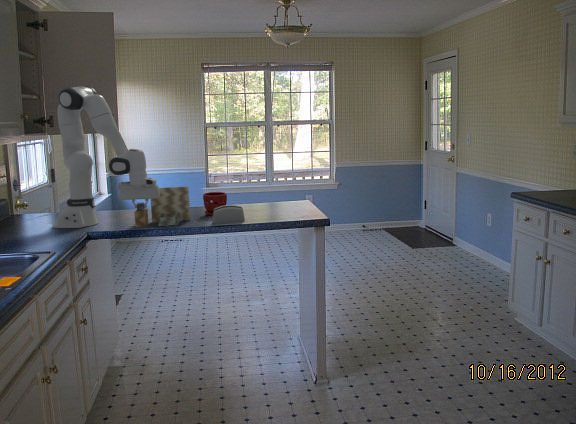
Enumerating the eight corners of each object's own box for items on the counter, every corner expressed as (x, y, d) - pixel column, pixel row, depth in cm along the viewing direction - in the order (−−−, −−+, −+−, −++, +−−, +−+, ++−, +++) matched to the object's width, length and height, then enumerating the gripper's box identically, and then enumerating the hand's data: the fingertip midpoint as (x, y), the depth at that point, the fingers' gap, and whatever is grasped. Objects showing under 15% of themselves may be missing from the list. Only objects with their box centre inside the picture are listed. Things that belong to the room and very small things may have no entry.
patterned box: (148, 227, 280) (145, 192, 277) (153, 221, 296) (150, 187, 293) (188, 225, 282) (185, 190, 279) (190, 219, 298) (188, 186, 295)
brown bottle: (135, 227, 281) (133, 205, 279) (139, 223, 291) (137, 202, 289) (145, 227, 281) (143, 204, 279) (148, 223, 291) (146, 201, 289)
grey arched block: (243, 219, 292) (243, 202, 287) (245, 223, 288) (245, 207, 283) (211, 221, 289) (211, 204, 284) (212, 226, 285) (212, 209, 280)
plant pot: (201, 216, 304) (199, 195, 302) (208, 212, 317) (206, 191, 315) (224, 216, 302) (222, 194, 300) (230, 212, 315) (229, 191, 313)
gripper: (116, 182, 278) (118, 209, 280) (157, 180, 280) (159, 207, 282) (119, 181, 284) (121, 207, 287) (159, 179, 286) (161, 205, 288)
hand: (140, 207), depth 284 cm, fingers closed on brown bottle, 3 cm apart
